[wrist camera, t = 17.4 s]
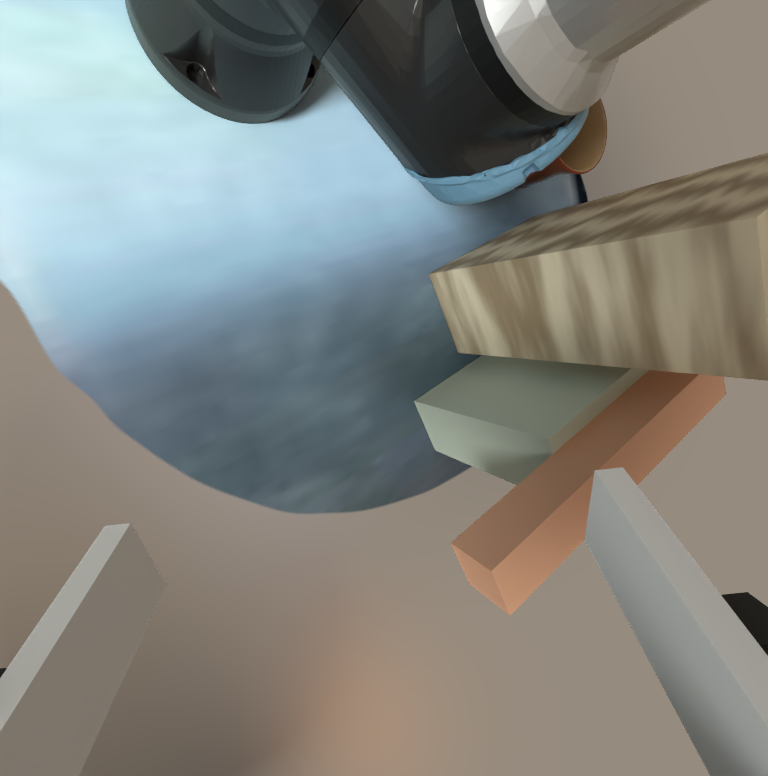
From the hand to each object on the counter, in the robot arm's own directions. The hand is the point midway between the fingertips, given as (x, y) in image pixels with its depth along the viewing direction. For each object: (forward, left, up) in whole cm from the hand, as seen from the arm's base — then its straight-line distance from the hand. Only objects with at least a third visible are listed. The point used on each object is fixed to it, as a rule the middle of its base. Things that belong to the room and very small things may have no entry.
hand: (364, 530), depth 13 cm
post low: (+11, +28, -31) cm, 43 cm away
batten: (+12, +24, -12) cm, 29 cm away
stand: (-1, +36, -31) cm, 47 cm away
